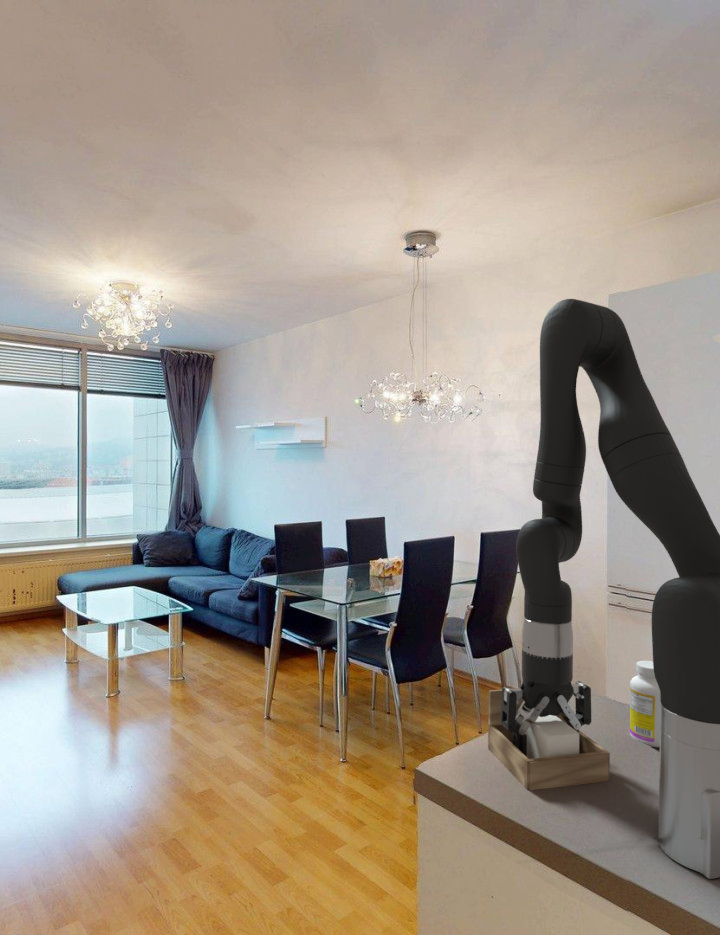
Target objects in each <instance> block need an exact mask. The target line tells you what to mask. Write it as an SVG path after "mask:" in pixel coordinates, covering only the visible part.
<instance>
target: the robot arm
mask: <svg viewBox="0 0 720 935" xmlns="http://www.w3.org/2000/svg"><path fill="white" fill-rule="evenodd" d="M543 318H544V319H543V322H542V325H541V329H540V337H539V391H540V392H539V394H540V395H539V397H540V400H539V401H540V404H539V406H540V423H539V424H540V426H539V428H540V429H539V440H538V450H537V454H536V455H537V456H536V463H535V468H534V474H533V475H534V476H533V483H532V493H533V496H534V498H536V499H537V500H539V501H541V518H536V519H535V518H534V519H532V520H529V521H527V522H526V523H524V524H523V525H522V526H521V528H520V530H519V532H518V534H517V536H516V542H515V551H516V553H515V554H516V560H517V564H518V569H519V574H520V578H521V581H522V585H523V586H522V587H523V589H524V599H523V601H524V603H523V606H524V607H523V623H522V629H521V630H522V632H521V677H522V678H521V679H522V683H521V686H520V687H519V688H520V689H513V688H510V687H508V686H504V687H502V704H501V724H502V725H503V726H504V727H505V728H506V729H507V730H509V731H510V732H512V731H513V745H515V746H516V747H517V748H518V749H519V750H520V751H521V752H522V753H523V754H524V755H525V756H526V757H527V735H526V734H525V733H526V731H527V730H528V728H529V727H530V725H531V724H533V723H535V721H536V720H537V718H538V716H540V717H546V716H548V715H553V716H559V714H561V715H562V717H563V718H564V720H565V721H566V723H567V725H569V726H570V727H571V728H573V729H574V730H575V731H577V732H578V733H579V731H580V729H581V727H582V726H585V725H586V726H589V725H591V723H592V690H591V689H592V688H591V687H590V686H588V685H587V684H586V683H584V682H581V681H580V680H578V681H576V682H575V683H574V684H572V681H573V678H574V676H573V675H574V673H573V672H574V670H573V669H574V665H573V664H574V631H573V625H572V624H573V623H572V622H573V621H572V619H573V614H572V613H573V597H572V588H571V587H570V585H569V584H568V583H567V582H566V581H563V580H562V578H561V571H560V566H559V565H560V563H565V562H567V561H569V560H571V559H572V558H574V556H576V555H577V552H578V551H579V548H580V546H581V542H582V539H583V538H582V537H583V516H582V515H583V514H582V503H581V502H582V501H581V490H582V486H583V479H584V474H585V466H586V459H587V458H586V457H587V442H586V436H585V431H584V427H583V423H582V419H581V416H580V412H579V408H578V400H577V399H578V398H577V380H578V373H579V369H580V368H582V369H583V370H584V371H585V372H584V373H586V375H587V377H588V378H589V380H590V382H591V384H592V386H593V388H594V391H595V393H596V395H597V398H598V402H599V409H600V412H599V423H598V433H597V446H598V450H599V455H600V457H601V458H600V459H601V461H602V463H603V465H604V468H605V471H606V473H607V474H608V477H609V480H610V482H611V484H612V486H613V489H614V491H615V493H616V494H617V495H618V496H619V498H620V500H622V502H623V503H624V505H625V506H626V508H628V509H629V510H630V511H631V512H632V513H633V514H634V516H636V518H638V519H639V521H641V522H642V524H643V525H645V527H647V528H648V529H649V531H650V532H651V533H652V534H654V536H655V537H656V538H657V539H658V540H659V542H660V543H661V544H662V546H663V547H664V549H665V551H666V552H667V554H668V556H669V557H670V559H671V562H672V564H673V566H674V568H675V570H676V572H677V574H678V577H674V578H672V579H669V580H667V581H665V582H664V583H662V585H661V586H660V587H658V590H657V591H656V593H655V596H654V599H653V602H652V606H651V607H652V609H651V640H652V641H651V642H652V661H653V669H654V675H655V678H656V681H657V684H658V686H659V689H660V747H659V765H658V766H659V768H658V769H659V770H658V771H659V772H658V773H659V774H658V776H659V777H658V845H659V847H660V848H661V849H662V851H663V852H664V853H665V854H666V855H667V856H668V857H669V858H670V859H672V860H673V861H675V862H676V863H678V864H680V865H682V866H684V867H686V868H688V869H689V870H693V871H696V872H698V873H700V874H702V875H703V876H705V878H707V879H709V880H711V879H716V878H717V879H719V878H720V533H719V531H718V529H717V528H716V526H715V523H714V522H713V520H712V518H711V516H710V513H709V511H708V508H707V507H706V505H705V503H704V501H703V499H702V497H701V495H700V493H699V491H698V489H697V487H696V484H695V483H694V481H693V479H692V477H691V475H690V473H689V470H688V469H687V465H686V463H685V461H684V458H683V456H682V454H681V452H680V450H679V448H678V445H677V444H676V442H675V440H674V438H673V436H672V434H671V432H670V430H669V427H668V426H667V425H666V422H665V421H664V418H663V417H662V415H661V413H660V410H659V408H658V406H657V404H656V401H655V399H654V397H653V395H652V393H651V391H650V389H649V387H648V385H647V383H646V381H645V379H644V377H643V374H642V372H641V369H640V366H639V363H638V360H637V357H636V354H635V351H634V347H633V346H632V342H631V338H630V337H629V333H628V330H627V328H626V326H625V323H624V322H623V319H622V318H621V317H620V316H619V314H618V313H617V312H615V311H614V310H612V309H611V308H609V307H606V306H603V305H599V304H596V303H591V302H589V301H585V300H580V299H575V298H565V299H562V300H560V301H558V302H556V303H555V304H554V305H552V306H551V308H549V310H548V311H547V313H546V315H545V317H543ZM573 696H574V698H575V712H574V710H573V709H572V707H571V706H570V704H569V702H570V700H571V699H572V698H573ZM521 697H522V698H523V700H524V701H523V703H522V704H521V706H520V707H519V709H518V714H517V716H516V704H518V703H519V699H520V698H521ZM529 709H530V710H531V712H530V713H529V714H528V710H529Z"/></svg>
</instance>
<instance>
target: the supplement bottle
mask: <svg viewBox="0 0 720 935" xmlns="http://www.w3.org/2000/svg"><path fill="white" fill-rule="evenodd" d="M635 666H636V667H635V670H636V672H637V675H635V676H633V677H632V678H631V679H630V682H629V734H630V737H632V738H633V739H634V740H636V741H638V742H641V743H643V744H645V745H648V746H649V747H651V748H660V689H659V686H658V684H657V681H656V678H655V675H654V669H653V660H640V661H639V660H638V661H637V662H636V665H635Z"/></svg>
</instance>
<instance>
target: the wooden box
mask: <svg viewBox="0 0 720 935" xmlns="http://www.w3.org/2000/svg"><path fill="white" fill-rule="evenodd" d="M502 689H503V688H502ZM502 689H501V688H500V689H489V690H488V722H487V723H488V730H487V731H488V734H487V735H488V737H487V738H488V740H487V743H488V744H487V749H488V751H490V752H491V753H492V755H494V757H495V758H496V759H497V760H498V761H499V762H500V763H501V765H503V766H504V767H505V768H506V770H508V772H509V773H510V774H512V776H513V777H514V778H515V779H516V780H517V781H518V782H519V783H520V784H521V785H522V786H523V787H524V788H525V789H526V790H529V791H534V790H543V789H552V788H553V789H554V788H559V787H560V788H562V787H570V786H576V785H577V786H578V785H585V784H587V785H588V784H595V783H604V782H609V781H610V770H611V769H610V765H611V764H610V763H611V762H610V758H611V755H610V754H611V753H610V752H609V751H608V750H606V749H605V748H604V747H603V746H601V745H600V744H598V743H597V742H596V741H594V740H593V739H592V738H590V737H589V736H587V735H586V734H585V733H583V731H581V730H579V754H573V755H563V756H554V757H544V758H534V759H528V758H527V757H526V756H525V755H524V754H523V753H522V752H521V751H520V750H519V749H518V748H517V747H516V746H515V745H513V731H512V732H510V731H509V730H507V729H506V728H505V727H504V726H503V725H502V724H501V704H502ZM512 689H520V687H515V688H513V687H512ZM523 701H524V700H523V698H522V697H521V698H520V699H519V703H518V704H516V710H518V709H519V707H520V706H521V704H522V703H523ZM557 717H558V718H559V719H561V720H562V721H563V722H565V723H566V721H565V720H564V718H563V717H562V715H561V714H559V716H557ZM566 724H567V723H566Z"/></svg>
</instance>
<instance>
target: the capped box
mask: <svg viewBox="0 0 720 935" xmlns="http://www.w3.org/2000/svg"><path fill="white" fill-rule="evenodd" d="M530 712H531V710H530V709H529V710H528V714H529V713H530ZM517 714H518V710H516V716H517ZM525 734H526V735H527V758H528V759H534V758H544V757H554V756H563V755H573V754H579V733H578V732H577V731H575V730H574V729H573V728H571V727H570V726H569V725H567V724H566V723H565V722H563V721H562V720H561V719H559V718H558V717H557V716H553V715H548V716H546V717H540V716H538V718H537V720H536V721H535V723H533V724H531V725H530V727H529V728H528V730H527V731H526V733H525Z"/></svg>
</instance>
